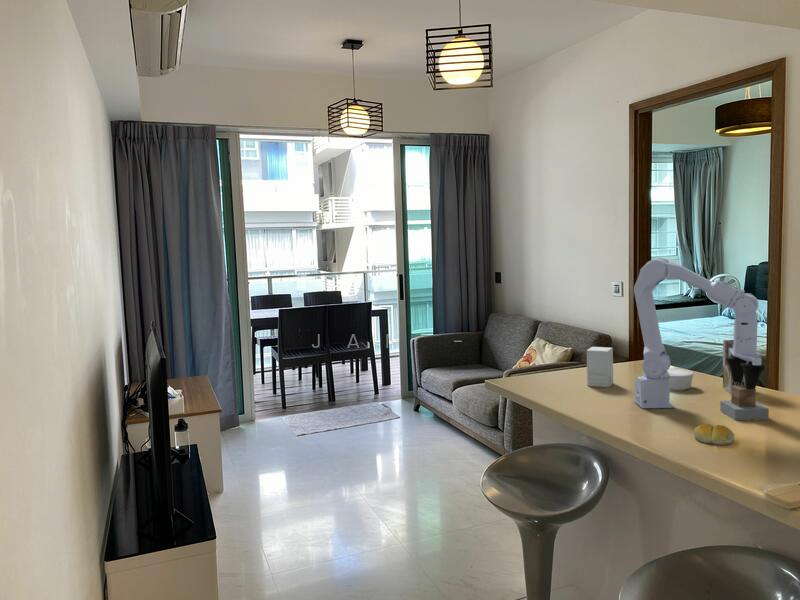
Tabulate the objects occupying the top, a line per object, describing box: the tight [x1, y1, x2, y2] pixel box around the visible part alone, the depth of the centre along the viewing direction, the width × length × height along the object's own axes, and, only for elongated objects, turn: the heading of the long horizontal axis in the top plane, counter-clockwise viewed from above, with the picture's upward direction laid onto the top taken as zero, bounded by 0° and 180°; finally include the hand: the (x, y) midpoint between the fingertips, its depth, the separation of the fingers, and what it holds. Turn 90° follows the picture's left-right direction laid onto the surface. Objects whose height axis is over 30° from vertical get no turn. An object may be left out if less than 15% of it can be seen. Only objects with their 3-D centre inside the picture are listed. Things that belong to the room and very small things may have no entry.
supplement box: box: [585, 346, 614, 388], centre depth 219 cm, size 7×7×13 cm
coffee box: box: [722, 339, 748, 395], centre depth 203 cm, size 9×6×16 cm
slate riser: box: [719, 400, 770, 421], centre depth 179 cm, size 9×9×3 cm
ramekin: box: [667, 368, 694, 391], centre depth 212 cm, size 11×11×5 cm
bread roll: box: [693, 423, 735, 446], centre depth 160 cm, size 8×9×4 cm
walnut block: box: [730, 385, 757, 407], centre depth 178 cm, size 4×4×5 cm
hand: (744, 385), depth 178 cm, fingers open, 7 cm apart
